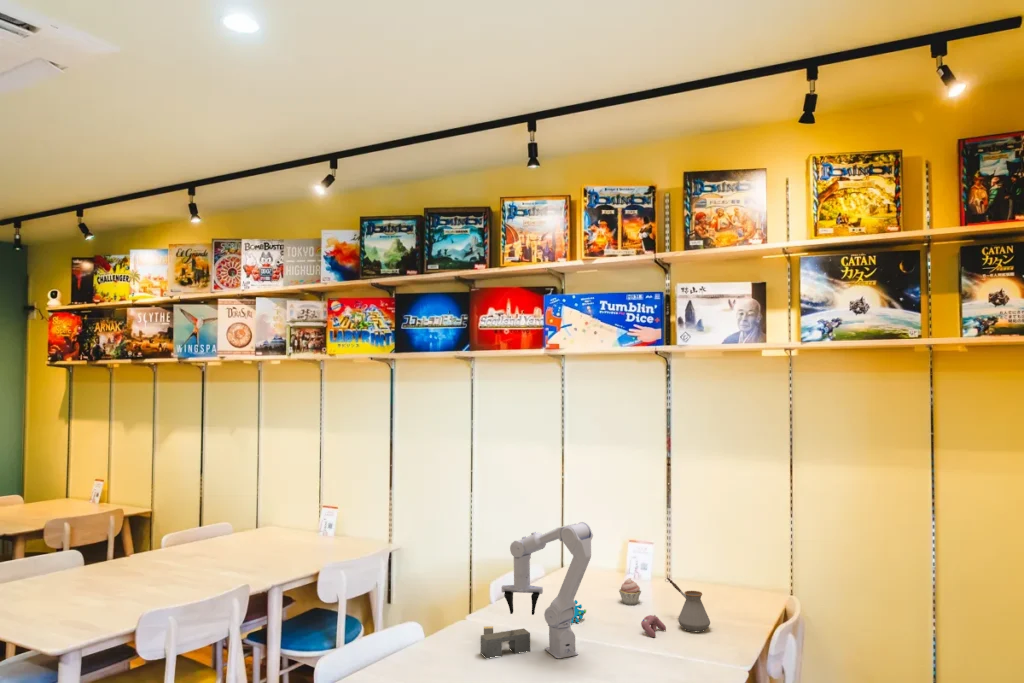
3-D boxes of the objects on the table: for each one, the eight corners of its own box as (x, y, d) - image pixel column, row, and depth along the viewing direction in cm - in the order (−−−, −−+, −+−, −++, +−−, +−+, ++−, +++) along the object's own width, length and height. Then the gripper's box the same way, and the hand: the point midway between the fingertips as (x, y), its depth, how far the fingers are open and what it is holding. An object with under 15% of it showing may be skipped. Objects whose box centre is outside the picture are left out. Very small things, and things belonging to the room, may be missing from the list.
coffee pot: (717, 631, 248) (716, 589, 249) (692, 636, 243) (691, 593, 244) (679, 614, 267) (678, 575, 268) (655, 618, 263) (654, 578, 264)
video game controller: (657, 633, 251) (649, 614, 254) (667, 629, 249) (659, 610, 251) (645, 640, 243) (636, 621, 246) (655, 637, 241) (647, 617, 244)
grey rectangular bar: (493, 646, 235) (493, 637, 236) (483, 646, 235) (483, 637, 235) (493, 634, 246) (493, 626, 247) (483, 635, 246) (483, 626, 246)
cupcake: (643, 606, 277) (643, 581, 278) (620, 606, 278) (620, 581, 278) (639, 599, 287) (639, 575, 287) (617, 599, 287) (617, 575, 288)
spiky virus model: (559, 620, 256) (558, 596, 263) (555, 628, 259) (555, 603, 267) (587, 623, 257) (586, 599, 264) (584, 631, 261) (582, 606, 268)
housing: (530, 651, 230) (530, 633, 231) (486, 659, 224) (486, 640, 224) (524, 646, 235) (524, 628, 235) (480, 653, 229) (480, 635, 229)
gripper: (499, 576, 239) (500, 616, 238) (540, 577, 237) (541, 618, 236) (503, 571, 246) (504, 609, 245) (543, 572, 244) (543, 611, 243)
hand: (522, 613), depth 241 cm, fingers open, 7 cm apart
